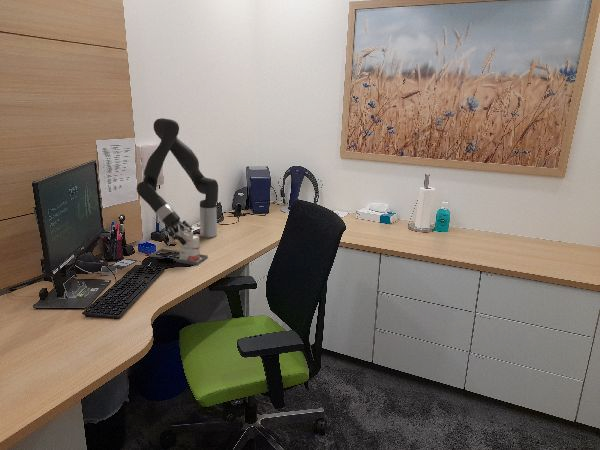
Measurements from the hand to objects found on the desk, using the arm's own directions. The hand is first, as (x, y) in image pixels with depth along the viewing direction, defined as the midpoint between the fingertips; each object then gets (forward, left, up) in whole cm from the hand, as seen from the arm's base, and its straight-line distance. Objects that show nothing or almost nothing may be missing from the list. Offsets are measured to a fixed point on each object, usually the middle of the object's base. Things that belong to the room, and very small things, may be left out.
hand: (189, 241), depth 210 cm
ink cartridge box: (0, 0, -9) cm, 9 cm away
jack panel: (0, -6, -9) cm, 11 cm away
